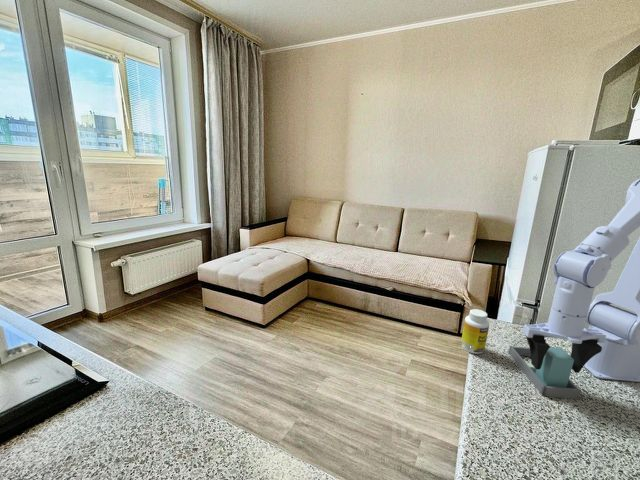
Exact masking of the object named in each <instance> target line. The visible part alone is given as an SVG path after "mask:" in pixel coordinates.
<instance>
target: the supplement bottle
mask: <svg viewBox="0 0 640 480" xmlns="http://www.w3.org/2000/svg"><path fill="white" fill-rule="evenodd" d="M489 329H490V322H489V321H488V313H487V312H486V311H484V310H482V309H477V308H474V309H470V310H469V314H468V315H466V317H465V318H464V323H463V329H462V335H461V339H460V340H461V341H460V345H461V347H462V349H463V350H465V351H466V352H469V353H470V354H475V355H479V354H483V353H484V352H485V349H486V344H487V339H488V334H489ZM470 346H471V348H470Z"/></svg>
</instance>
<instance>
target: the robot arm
mask: <svg viewBox="0 0 640 480" xmlns="http://www.w3.org/2000/svg"><path fill="white" fill-rule="evenodd" d="M639 228H640V178H638V179H636V180H635V181H633V182H632V183H631V184H630V186H628V189H627V190H626V195H625V203H624V205H623V206H622V208H621V209H620V210H619V211H618V212H617V214H616V215H615V216H614V217H613V219H612V220H611V221H610V222H609V223H608V224H607V225H602V226H598V227H596V228H594V230H593V231H591V233H590V234H588V235H587V236H586V237H585V238H584V240H582V241H581V242H580V243H579V244H578V245H577V246H576V247H575V248H574V249H573V250H567V251H563V252H561V253H560V254H559V255H558V256H557V258H556V260H555V262H554V263H553V266H552V271H553V274H554V281H553V283H554V285H556V286H555V289H554V290H555V291H554V295H553V299H552V302H551V308H550V312H549V316H548V320H547V322H543V323H534V324H524V325H523V329H522V334H523V335H524V336H525V339H526V341H527V343H528V348H530V352H531V356H530V359H531V360H530V361H531V362H530V363H531V364H532V365H533V366H534V367H535V368H536V369H540V368H541V366H542V363H543V359H544V356H545V354H546V352H547V351H548V349H549V348H550V347H551V346H550V345H549V343H547V342H546V341H547V339H546V338H549V339H550V338H551V339H558V340H559V339H560V340H564V341H568V342H570V343H571V352H570V356H571V357H572V358H573V359H574V363H573V366H572V370H571V371H573V372H574V373H576V374H579V373H580V371H582V369H583V368H586V369H587V370H588V371H589V372H590V373H591V374H592V375H593V376H594V377H596V378H597V379H606V380H615V381H626V382H637V383H640V236H639V237H638V239H637V241H636V244H635V245H634V247H633V249H632V251H631V253H630V255H629V258H628V260H627V262H626V264H625V266H624V268H623V270H622V271H621V274H620V276H619V279H618V280H617V282H616V285H615V286H614V288H613V291H607V292H602V293H599V294H597V295H596V296H595V297H594V299H593V296H594V292H595V290H596V289H595V288H596V287H598V286H599V285H601V283H603V282H604V280H605V278H606V277H607V275H608V272H609V270H610V269H611V267H612V262H613V261H614V260H615V259H616V258H617V257H618V256H619V255H620V254H621V253H622V252H623V251H624V250H625V249H626V248H627V247H628V246H629V244H630V238H629V236H630V235H631V234H632V233H634V231H636V230H637V229H639ZM592 299H593V301H592ZM615 305H616V306H615ZM619 307H621V308H619ZM626 309H627V310H626ZM629 310H630V311H629ZM631 311H632V312H631ZM586 323H587V325H588V328H587V327H585V325H586Z"/></svg>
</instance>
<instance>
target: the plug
mask: <svg viewBox="0 0 640 480" xmlns="http://www.w3.org/2000/svg"><path fill="white" fill-rule="evenodd" d="M573 363H574V359H573V358H572V357H571V354H570V355H569V353H568V352H566V351H565V349H564V348H562V347H553V346H552V347H551V346H550V348H549V349H548V351H547V352H546V354H545V356H544V359H543V363H542V366H541V368H540V369H536V373H535V374H536V375H537V377H538V378H539V379H540V380H541V381H542V382H543V384H544V385H545V386H552V387H562V388H567V385H568V381H569V379H570V377H571V374H572V371H573V370H572V366H573Z"/></svg>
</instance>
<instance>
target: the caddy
mask: <svg viewBox="0 0 640 480" xmlns="http://www.w3.org/2000/svg"><path fill="white" fill-rule="evenodd" d="M508 354H509V355H510V357H511V358H512V359H513V362H515V363H516V364H517V365H518V367H519V368H520V369H521V371H522V372H523V373H524V374H525V376H526V377H527V378H528V379H529V381H530V382H531V383H532V384H533V386H534V387H535V388H536V389H537V391H538V392H539V393H540V394H541V396H543V397H553V398H566V399H572V400H573V399H574V400H575V399H576V400H579V399H580V396H581V393H582V390H581V389H580V388H579V387H578V386H577V385H576V384H575V383H574V382H573V381H572V380H571V379H570V378H569V381H568V385H567V388H562V387H552V386H545V385H544V384H543V382H542V381H541V380H540V379H539V378H538V377H537V375H536V374H535V373H536V368H535V367H534V366H533V365H532V364H531V362H526V361H525V360H524V358H522V356H523V357H531V352H530V347H524V346H514V345H513V346H511V345H510V346H509V349H508Z"/></svg>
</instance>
